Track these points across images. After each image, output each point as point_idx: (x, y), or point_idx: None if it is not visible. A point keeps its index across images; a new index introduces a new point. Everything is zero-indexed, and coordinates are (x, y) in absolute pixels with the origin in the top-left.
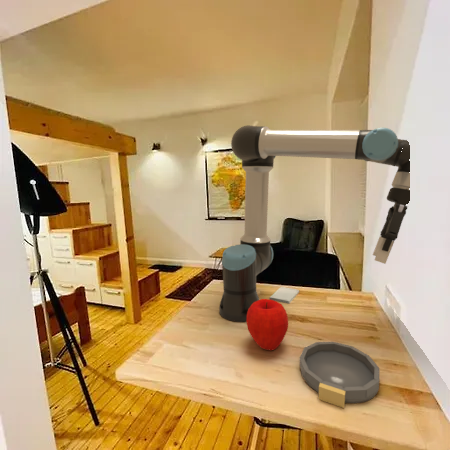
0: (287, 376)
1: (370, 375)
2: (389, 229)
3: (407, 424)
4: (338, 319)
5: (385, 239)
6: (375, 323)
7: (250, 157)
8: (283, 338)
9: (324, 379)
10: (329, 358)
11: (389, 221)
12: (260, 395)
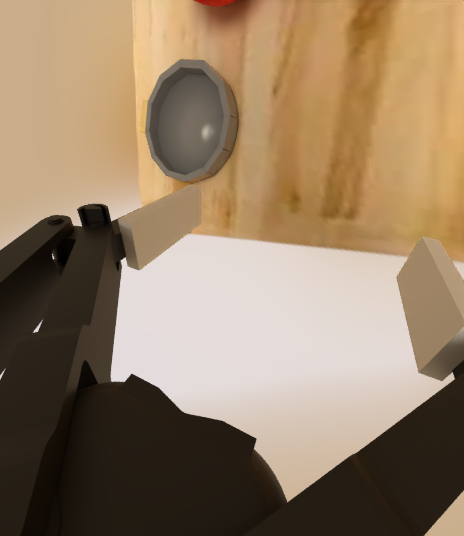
0: (177, 54)
1: (191, 171)
2: (27, 238)
3: (153, 194)
4: (372, 132)
5: (123, 229)
6: (356, 222)
7: None
8: (211, 5)
9: (173, 109)
10: (211, 113)
11: (67, 310)
12: (144, 28)
